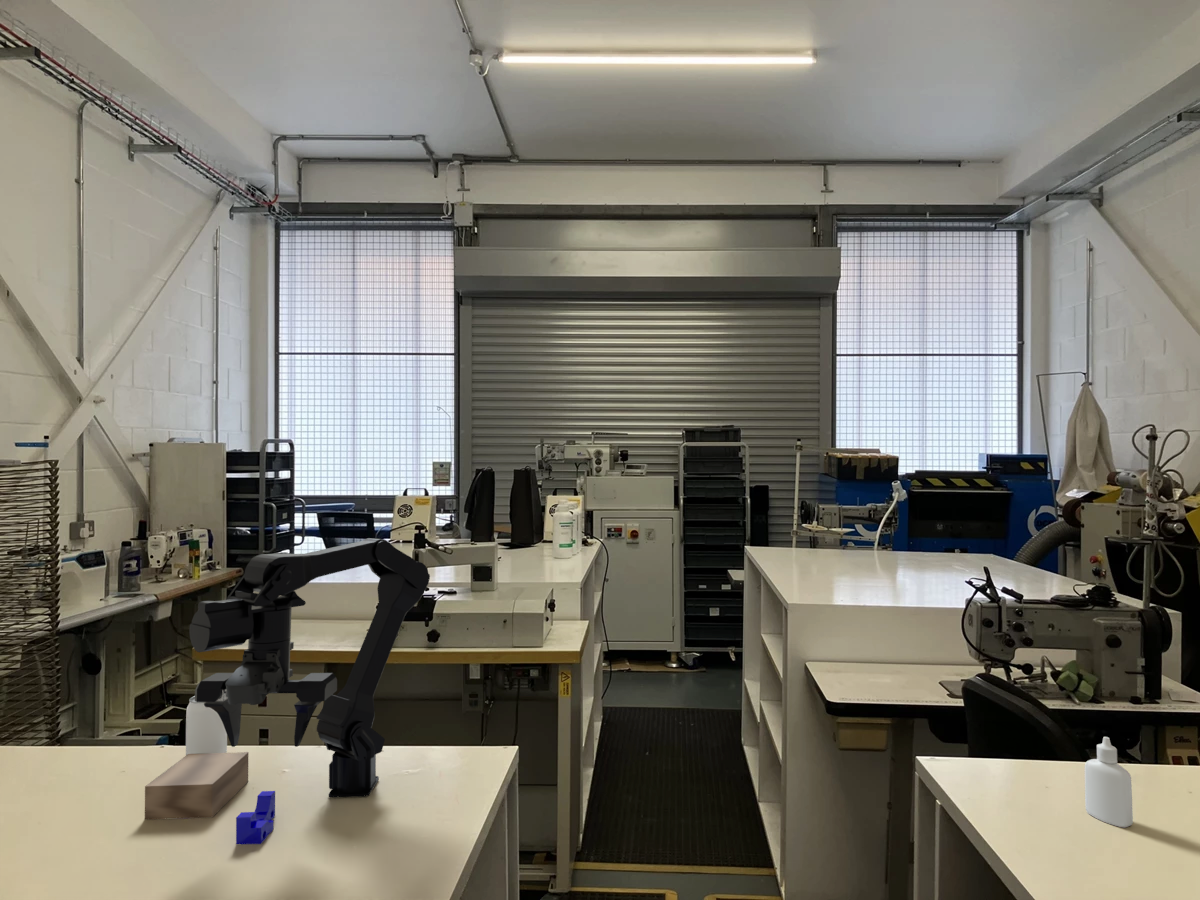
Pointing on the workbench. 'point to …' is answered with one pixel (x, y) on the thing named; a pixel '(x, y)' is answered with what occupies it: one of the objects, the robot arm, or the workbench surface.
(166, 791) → the plate
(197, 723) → the can
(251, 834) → the cable holder
